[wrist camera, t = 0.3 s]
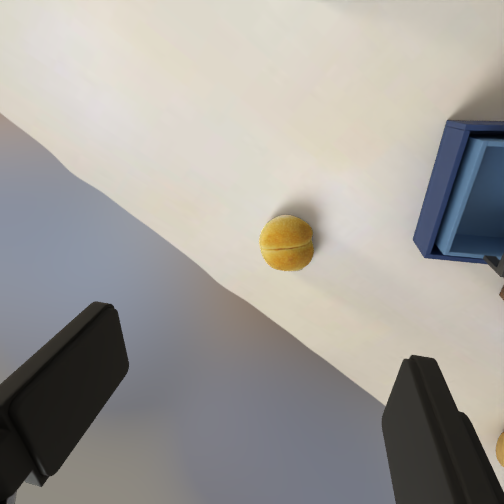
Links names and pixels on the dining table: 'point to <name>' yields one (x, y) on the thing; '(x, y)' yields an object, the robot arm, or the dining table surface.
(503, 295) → the block
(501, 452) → the pot
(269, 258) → the bread roll
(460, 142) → the lower bin
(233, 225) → the dining table surface
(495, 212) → the upper bin
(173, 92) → the dining table surface
